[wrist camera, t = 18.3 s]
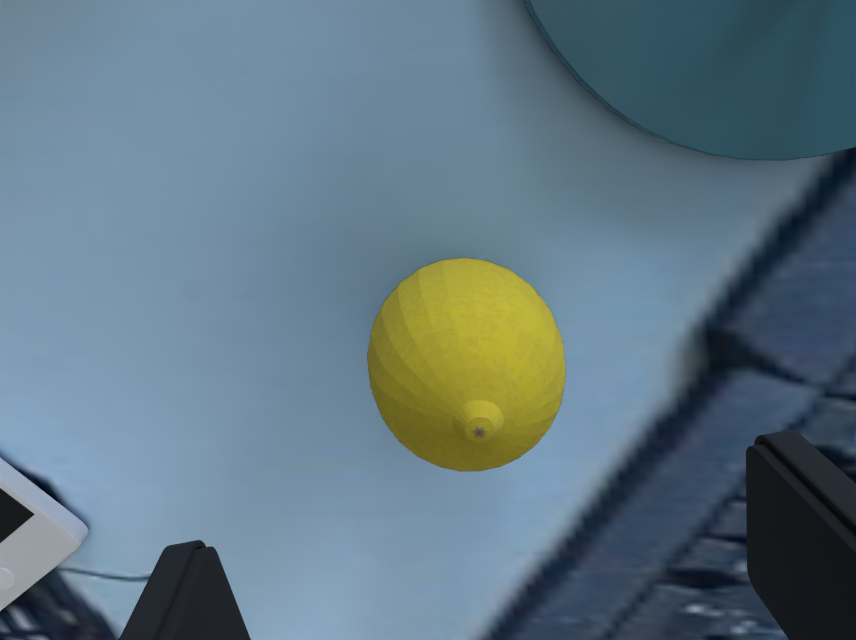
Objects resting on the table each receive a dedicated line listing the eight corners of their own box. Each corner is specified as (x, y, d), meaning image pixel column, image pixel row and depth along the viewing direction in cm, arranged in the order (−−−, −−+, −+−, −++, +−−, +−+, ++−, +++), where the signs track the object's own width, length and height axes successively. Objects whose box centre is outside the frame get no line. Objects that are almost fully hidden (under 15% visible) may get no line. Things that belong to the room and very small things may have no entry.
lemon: (341, 293, 22) (308, 409, 14) (476, 197, 21) (518, 269, 13) (434, 409, 23) (449, 566, 16) (564, 326, 22) (644, 453, 15)
